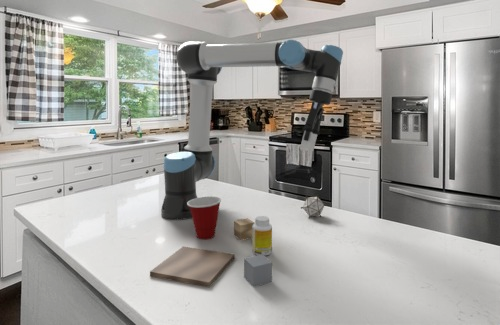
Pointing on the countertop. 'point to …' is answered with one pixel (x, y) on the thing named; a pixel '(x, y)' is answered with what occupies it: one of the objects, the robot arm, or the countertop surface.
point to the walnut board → (193, 266)
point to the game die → (313, 206)
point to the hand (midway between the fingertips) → (306, 150)
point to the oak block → (243, 228)
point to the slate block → (257, 270)
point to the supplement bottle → (262, 236)
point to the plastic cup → (205, 215)
